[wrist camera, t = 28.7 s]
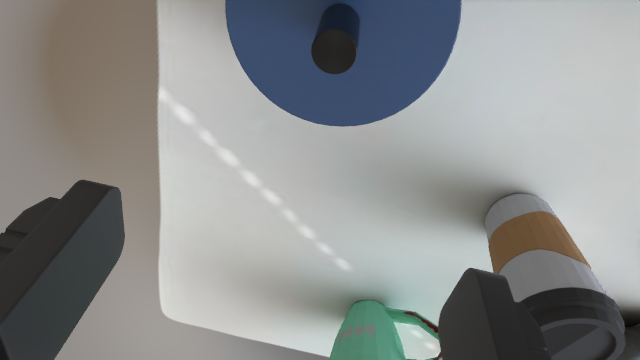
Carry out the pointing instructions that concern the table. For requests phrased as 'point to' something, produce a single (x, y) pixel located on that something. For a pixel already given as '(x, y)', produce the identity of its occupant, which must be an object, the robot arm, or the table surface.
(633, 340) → the lucky cat figurine
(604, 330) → the coffee cup
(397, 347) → the mug
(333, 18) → the tin lid
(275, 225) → the table surface
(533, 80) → the table surface
